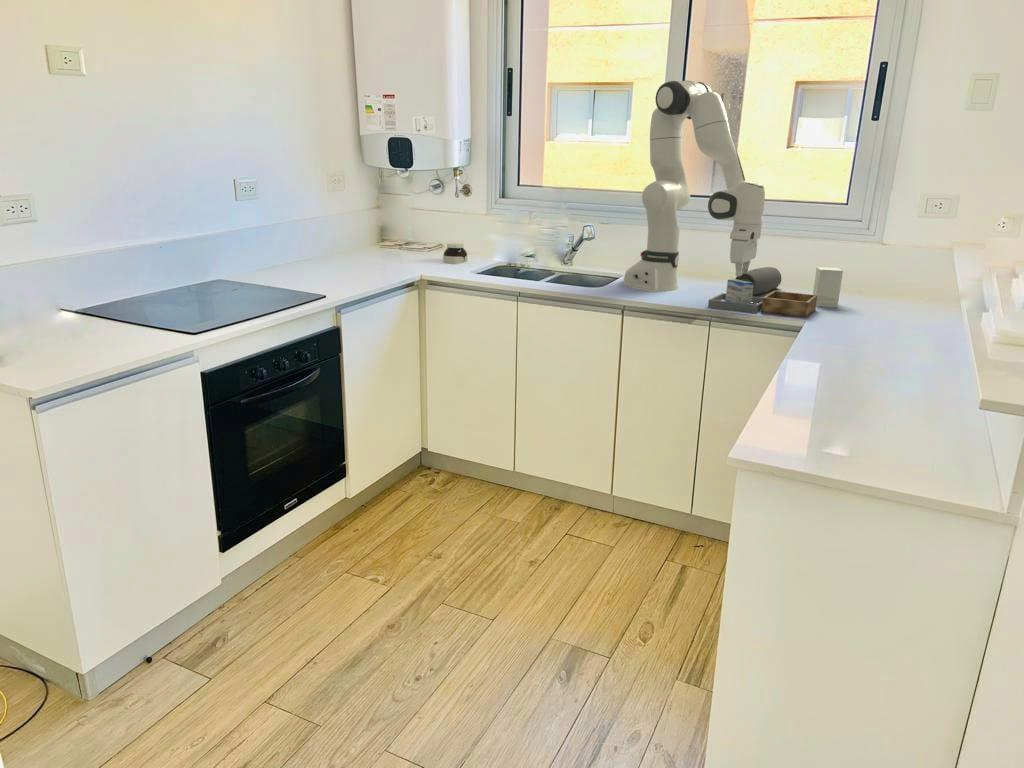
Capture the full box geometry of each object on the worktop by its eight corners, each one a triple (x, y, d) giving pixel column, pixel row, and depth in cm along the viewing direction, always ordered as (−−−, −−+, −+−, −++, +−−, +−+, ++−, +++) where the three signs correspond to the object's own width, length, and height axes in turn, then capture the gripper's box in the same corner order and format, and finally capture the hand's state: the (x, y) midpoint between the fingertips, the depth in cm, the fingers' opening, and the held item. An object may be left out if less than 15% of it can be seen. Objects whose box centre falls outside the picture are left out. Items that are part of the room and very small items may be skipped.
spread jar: (455, 274, 305) (455, 245, 301) (433, 271, 311) (433, 243, 307) (472, 271, 314) (473, 243, 311) (451, 268, 320) (451, 240, 317)
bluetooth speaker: (757, 290, 285) (760, 264, 282) (781, 294, 279) (784, 267, 276) (730, 298, 268) (733, 270, 265) (755, 301, 262) (758, 273, 259)
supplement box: (837, 308, 254) (843, 270, 251) (814, 306, 256) (820, 269, 252) (833, 304, 261) (839, 267, 258) (811, 302, 263) (816, 266, 259)
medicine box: (724, 304, 255) (727, 279, 253) (733, 303, 257) (736, 278, 255) (741, 309, 249) (744, 283, 246) (751, 308, 251) (754, 282, 248)
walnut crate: (761, 312, 243) (762, 297, 242) (772, 305, 256) (773, 290, 255) (806, 318, 236) (808, 302, 235) (815, 310, 250) (817, 295, 248)
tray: (707, 307, 250) (708, 299, 249) (721, 300, 263) (722, 293, 263) (756, 313, 242) (757, 305, 242) (768, 305, 256) (768, 298, 255)
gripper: (744, 229, 256) (740, 270, 260) (728, 234, 239) (723, 277, 243) (763, 230, 253) (758, 271, 257) (748, 235, 236) (743, 279, 240)
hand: (741, 274), depth 250 cm, fingers open, 6 cm apart
